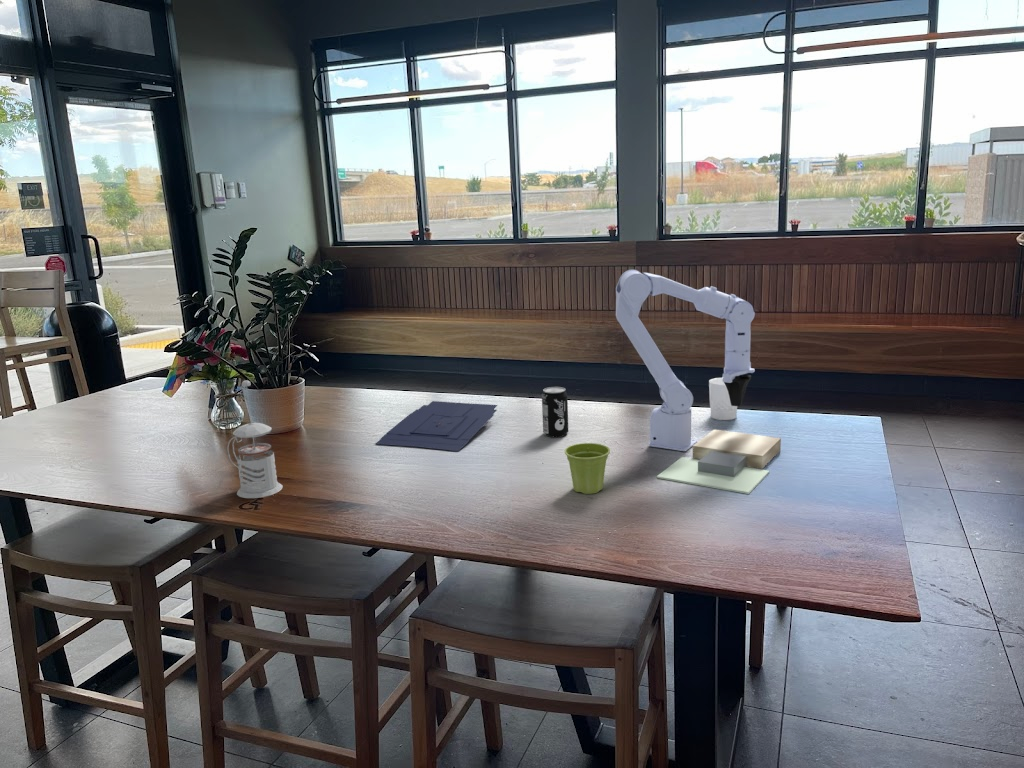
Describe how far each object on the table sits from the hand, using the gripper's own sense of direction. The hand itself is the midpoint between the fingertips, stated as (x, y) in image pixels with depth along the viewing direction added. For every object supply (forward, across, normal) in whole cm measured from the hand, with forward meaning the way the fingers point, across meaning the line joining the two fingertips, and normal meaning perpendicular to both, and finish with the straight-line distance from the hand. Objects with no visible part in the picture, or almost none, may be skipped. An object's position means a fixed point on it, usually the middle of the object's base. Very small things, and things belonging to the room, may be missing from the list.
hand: (736, 405), depth 186 cm
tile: (+9, -20, -4) cm, 22 cm away
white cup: (+10, +20, +10) cm, 24 cm away
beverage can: (+10, -13, +43) cm, 46 cm away
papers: (+10, -24, +72) cm, 77 cm away
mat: (+9, -24, -3) cm, 25 cm away
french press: (+10, -77, +82) cm, 113 cm away
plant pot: (+10, -43, +17) cm, 47 cm away
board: (+9, -8, -3) cm, 13 cm away
